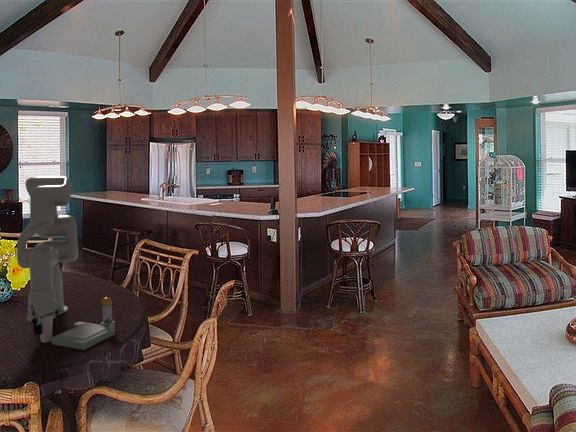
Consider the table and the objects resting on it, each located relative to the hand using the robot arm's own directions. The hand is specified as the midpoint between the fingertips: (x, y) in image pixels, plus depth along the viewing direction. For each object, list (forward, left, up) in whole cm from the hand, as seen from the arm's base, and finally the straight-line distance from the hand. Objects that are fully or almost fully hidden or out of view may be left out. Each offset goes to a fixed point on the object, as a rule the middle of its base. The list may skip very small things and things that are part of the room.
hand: (45, 331), depth 200 cm
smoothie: (0, 0, -4) cm, 4 cm away
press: (+9, +9, -4) cm, 13 cm away
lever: (+14, +18, -3) cm, 23 cm away
